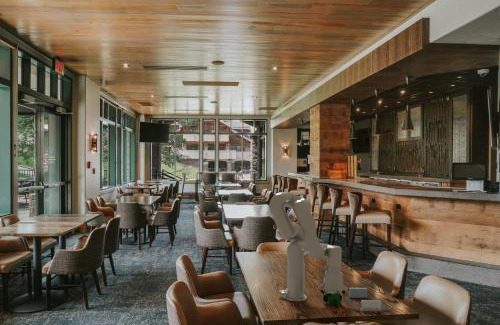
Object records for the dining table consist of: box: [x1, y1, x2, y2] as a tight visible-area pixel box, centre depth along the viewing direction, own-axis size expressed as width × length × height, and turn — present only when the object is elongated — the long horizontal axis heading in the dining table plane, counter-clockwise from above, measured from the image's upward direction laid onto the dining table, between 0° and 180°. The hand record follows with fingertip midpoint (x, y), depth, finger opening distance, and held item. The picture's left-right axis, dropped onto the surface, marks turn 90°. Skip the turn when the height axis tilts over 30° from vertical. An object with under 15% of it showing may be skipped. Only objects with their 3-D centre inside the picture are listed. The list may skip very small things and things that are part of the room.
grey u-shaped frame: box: [344, 296, 389, 312], centre depth 221 cm, size 17×20×5 cm
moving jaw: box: [348, 287, 369, 299], centre depth 233 cm, size 10×2×5 cm, turn 93°
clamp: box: [326, 291, 342, 307], centre depth 221 cm, size 12×6×9 cm, turn 178°
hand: (332, 301), depth 221 cm, fingers closed on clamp, 7 cm apart
